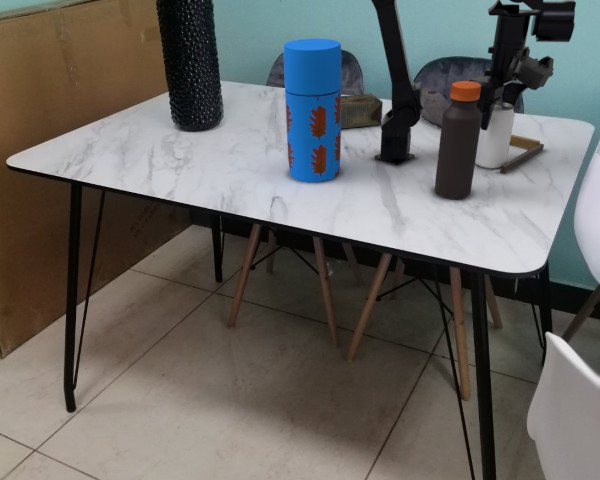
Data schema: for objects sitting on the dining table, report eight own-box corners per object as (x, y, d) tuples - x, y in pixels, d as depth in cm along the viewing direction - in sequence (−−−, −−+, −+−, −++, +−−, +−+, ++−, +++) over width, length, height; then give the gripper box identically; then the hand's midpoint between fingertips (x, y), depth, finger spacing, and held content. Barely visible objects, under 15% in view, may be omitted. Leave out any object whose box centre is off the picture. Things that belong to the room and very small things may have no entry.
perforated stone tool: (458, 130, 138) (462, 101, 134) (438, 133, 137) (441, 103, 133) (431, 112, 150) (434, 85, 146) (413, 115, 149) (415, 87, 145)
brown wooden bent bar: (504, 173, 116) (506, 164, 115) (461, 161, 122) (462, 152, 121) (542, 150, 126) (544, 141, 125) (501, 140, 132) (502, 132, 130)
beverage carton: (383, 125, 143) (384, 98, 139) (308, 133, 140) (307, 106, 136) (372, 116, 149) (374, 90, 145) (301, 123, 146) (300, 97, 142)
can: (498, 171, 117) (509, 112, 110) (468, 165, 120) (477, 107, 113) (510, 161, 121) (521, 104, 114) (481, 155, 124) (489, 99, 118)
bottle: (477, 191, 109) (494, 83, 98) (458, 203, 106) (473, 92, 94) (446, 182, 113) (459, 77, 102) (427, 193, 110) (438, 85, 98)
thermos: (347, 166, 122) (350, 40, 107) (328, 185, 114) (328, 52, 99) (301, 160, 126) (297, 37, 111) (279, 178, 118) (272, 48, 103)
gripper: (526, 56, 97) (509, 145, 106) (573, 38, 108) (554, 121, 116) (468, 47, 103) (457, 132, 112) (518, 31, 114) (504, 110, 123)
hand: (495, 124), depth 116 cm, fingers open, 9 cm apart
